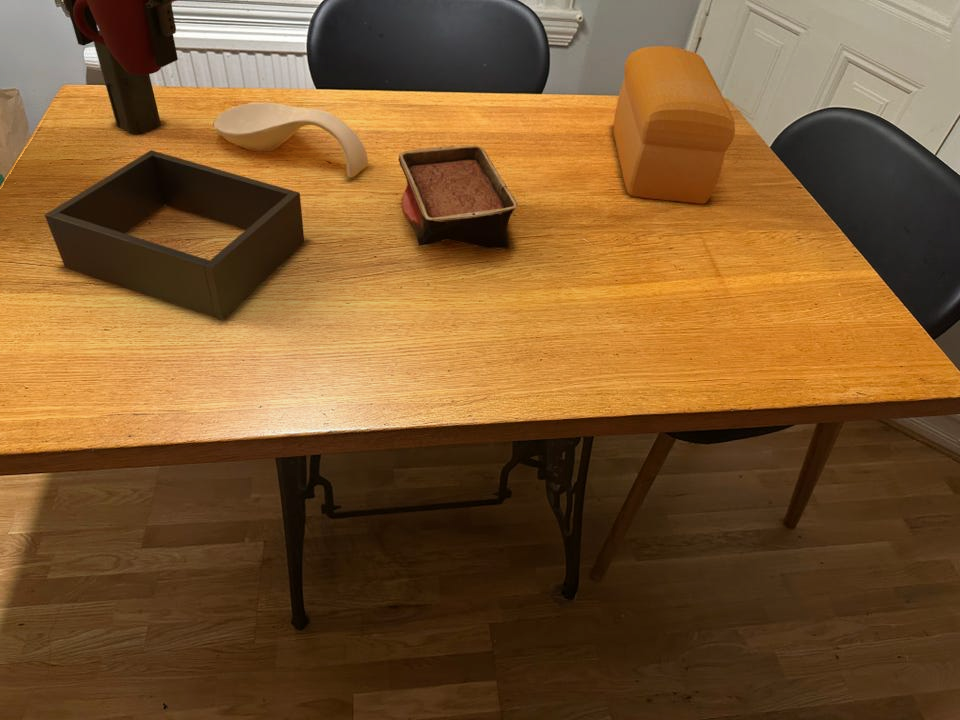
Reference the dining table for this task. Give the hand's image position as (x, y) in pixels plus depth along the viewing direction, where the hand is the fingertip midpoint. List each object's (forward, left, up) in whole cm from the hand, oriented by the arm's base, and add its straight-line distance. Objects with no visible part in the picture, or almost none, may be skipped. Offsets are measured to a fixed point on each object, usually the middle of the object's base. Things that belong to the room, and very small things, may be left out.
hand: (128, 52), depth 82 cm
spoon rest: (+10, +17, -18) cm, 26 cm away
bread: (+61, +43, -18) cm, 76 cm away
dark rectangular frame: (+13, -11, -18) cm, 24 cm away
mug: (0, 0, -2) cm, 2 cm away
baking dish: (+39, +10, -18) cm, 44 cm away
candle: (-14, +13, -18) cm, 26 cm away
